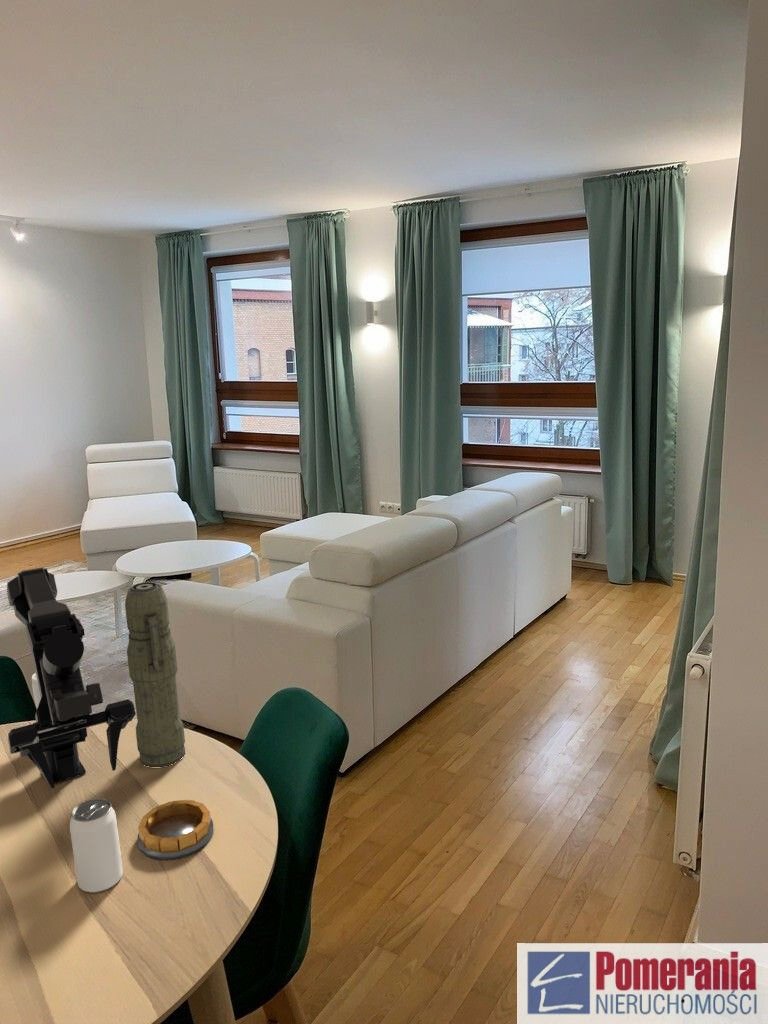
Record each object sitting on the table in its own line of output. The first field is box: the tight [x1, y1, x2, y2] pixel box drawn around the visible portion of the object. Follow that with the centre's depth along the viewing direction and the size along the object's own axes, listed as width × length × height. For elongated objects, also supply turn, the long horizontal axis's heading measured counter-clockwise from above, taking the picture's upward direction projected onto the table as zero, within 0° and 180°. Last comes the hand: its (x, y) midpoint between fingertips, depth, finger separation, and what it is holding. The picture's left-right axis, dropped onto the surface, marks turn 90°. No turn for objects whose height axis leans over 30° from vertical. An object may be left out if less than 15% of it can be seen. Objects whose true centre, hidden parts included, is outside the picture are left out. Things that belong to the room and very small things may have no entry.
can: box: [69, 797, 124, 894], centre depth 116 cm, size 6×6×12 cm
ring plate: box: [137, 799, 214, 861], centre depth 127 cm, size 12×12×3 cm
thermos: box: [124, 581, 186, 768], centre depth 148 cm, size 9×12×35 cm
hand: (84, 779), depth 122 cm, fingers open, 9 cm apart
